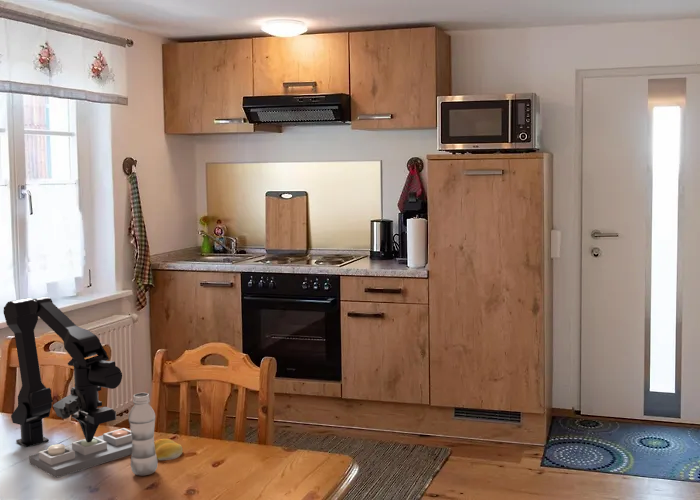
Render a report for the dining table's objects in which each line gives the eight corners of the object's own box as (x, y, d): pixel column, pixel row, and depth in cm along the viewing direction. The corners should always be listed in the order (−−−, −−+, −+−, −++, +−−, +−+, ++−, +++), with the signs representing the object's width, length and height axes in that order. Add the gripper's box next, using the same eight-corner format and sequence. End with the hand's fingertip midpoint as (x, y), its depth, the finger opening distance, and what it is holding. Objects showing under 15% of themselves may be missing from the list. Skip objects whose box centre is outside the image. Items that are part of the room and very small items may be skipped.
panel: (29, 463, 213) (28, 449, 212) (119, 437, 232) (119, 424, 231) (56, 477, 203) (55, 462, 203) (147, 449, 222) (147, 435, 222)
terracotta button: (109, 439, 224) (109, 433, 223) (122, 435, 226) (122, 429, 226) (117, 442, 221) (117, 436, 221) (130, 438, 224) (130, 432, 224)
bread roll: (160, 464, 212) (160, 449, 212) (144, 454, 219) (143, 440, 218) (189, 456, 217) (188, 441, 217) (172, 447, 224) (171, 432, 224)
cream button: (45, 453, 211) (45, 447, 210) (60, 449, 213) (60, 443, 213) (53, 457, 208) (52, 450, 208) (68, 453, 211) (67, 446, 210)
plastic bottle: (163, 470, 207) (160, 392, 205) (148, 480, 201) (144, 399, 199) (141, 467, 209) (137, 389, 207) (125, 477, 203) (121, 397, 201)
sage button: (78, 448, 217) (78, 441, 217) (92, 444, 220) (92, 437, 220) (86, 451, 214) (86, 445, 214) (100, 447, 217) (100, 441, 217)
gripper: (39, 383, 216) (42, 441, 218) (75, 397, 203) (78, 458, 205) (79, 374, 224) (81, 430, 226) (116, 387, 211) (118, 447, 213)
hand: (89, 441), depth 217 cm, fingers closed, pressing on sage button
